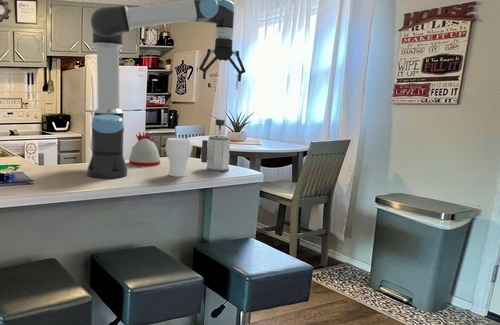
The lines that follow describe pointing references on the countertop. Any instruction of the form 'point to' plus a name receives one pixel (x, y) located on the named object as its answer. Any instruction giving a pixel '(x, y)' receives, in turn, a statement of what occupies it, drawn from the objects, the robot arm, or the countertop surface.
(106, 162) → the robot arm
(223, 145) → the carafe
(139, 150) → the grey and red dome
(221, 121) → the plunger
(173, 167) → the cup
